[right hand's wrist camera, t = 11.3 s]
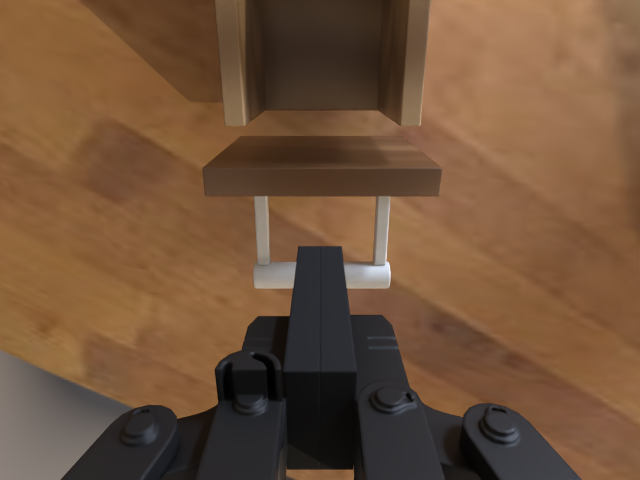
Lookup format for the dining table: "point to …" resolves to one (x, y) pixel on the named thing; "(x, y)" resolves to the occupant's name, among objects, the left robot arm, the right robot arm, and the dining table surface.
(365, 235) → the dining table surface
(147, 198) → the dining table surface
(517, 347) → the dining table surface
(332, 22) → the drawer
